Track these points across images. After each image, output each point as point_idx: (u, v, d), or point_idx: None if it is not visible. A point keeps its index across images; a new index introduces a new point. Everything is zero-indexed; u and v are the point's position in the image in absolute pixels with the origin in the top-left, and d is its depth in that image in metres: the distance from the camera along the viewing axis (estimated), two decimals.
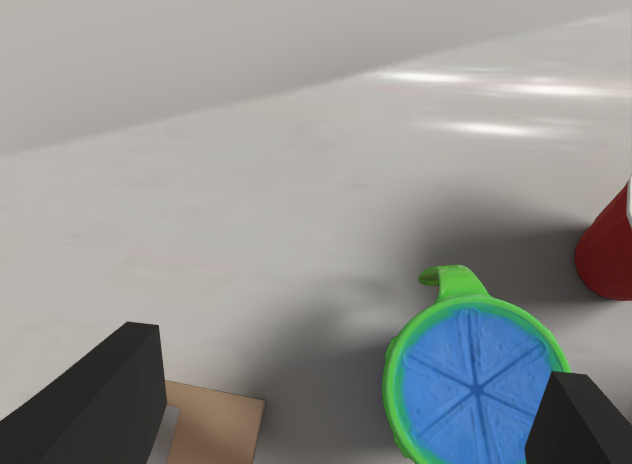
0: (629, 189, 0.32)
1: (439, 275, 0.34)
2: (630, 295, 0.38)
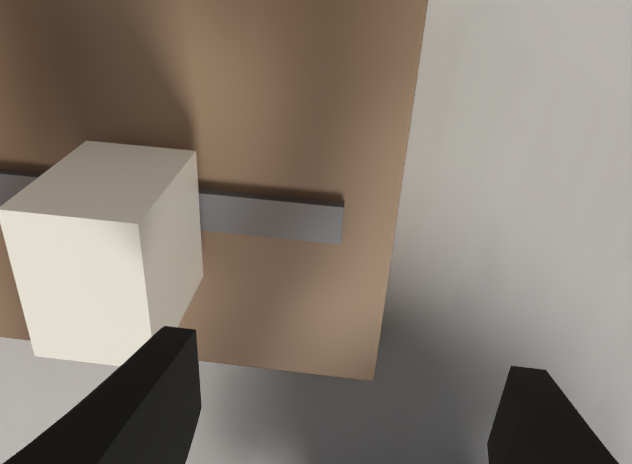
0: None
1: None
2: None
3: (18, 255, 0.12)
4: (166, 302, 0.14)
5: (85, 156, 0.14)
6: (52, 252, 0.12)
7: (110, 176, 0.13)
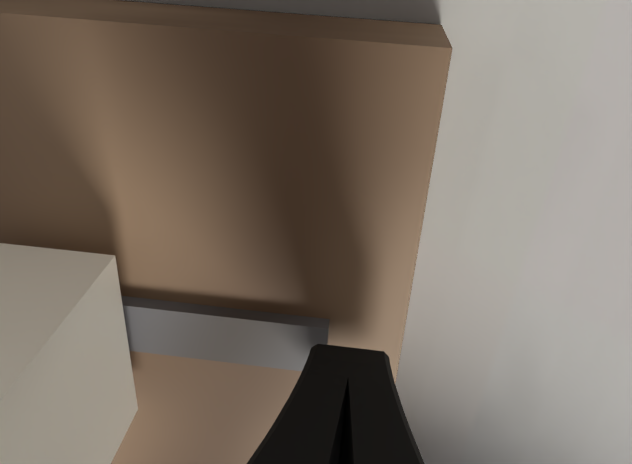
0: None
1: None
2: None
3: None
4: None
5: None
6: None
7: None
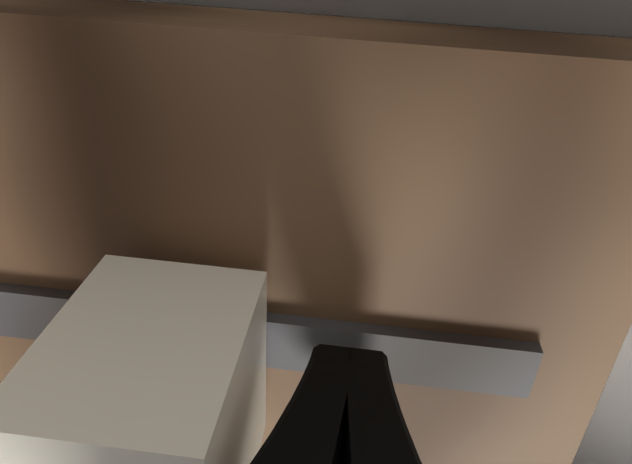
0: None
1: None
2: None
3: None
4: None
5: (106, 289, 0.09)
6: None
7: (146, 333, 0.09)
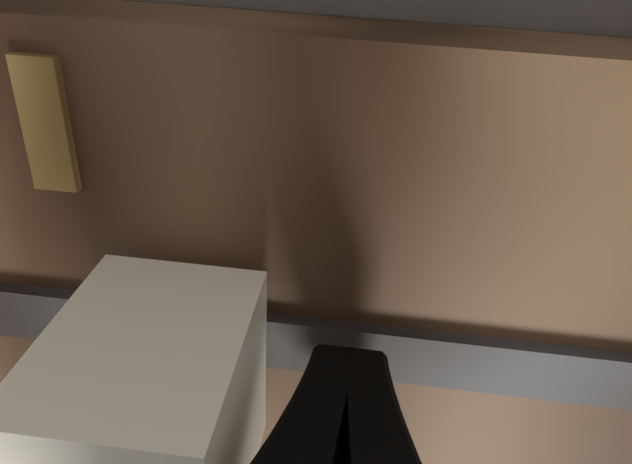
0: None
1: None
2: None
3: None
4: None
5: (106, 289, 0.09)
6: None
7: (146, 333, 0.09)
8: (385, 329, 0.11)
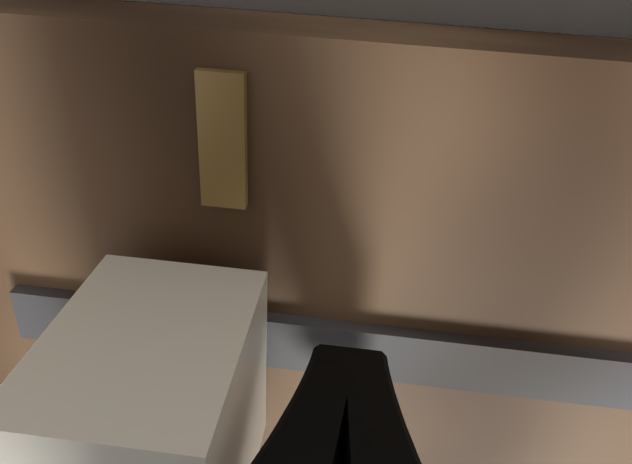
0: None
1: None
2: None
3: None
4: None
5: (107, 289, 0.09)
6: None
7: (147, 333, 0.09)
8: (545, 347, 0.11)
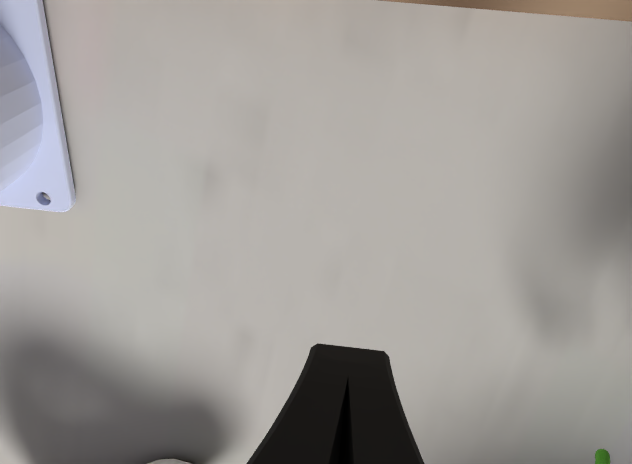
0: None
1: None
2: None
3: None
4: None
5: None
6: None
7: None
8: None
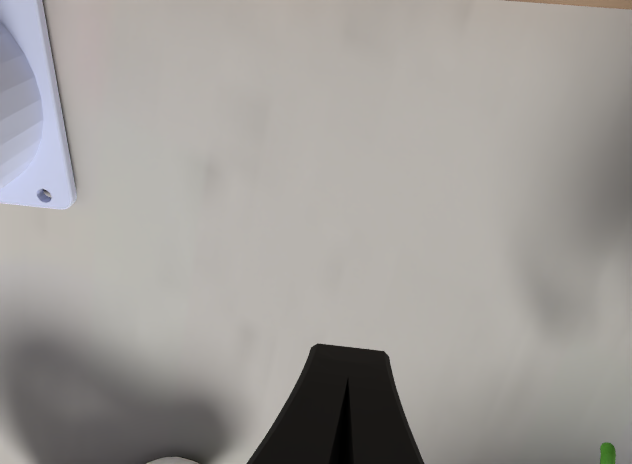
0: None
1: None
2: None
3: None
4: None
5: None
6: None
7: None
8: None
